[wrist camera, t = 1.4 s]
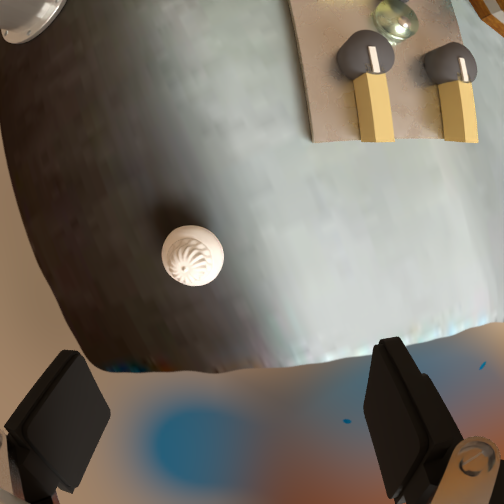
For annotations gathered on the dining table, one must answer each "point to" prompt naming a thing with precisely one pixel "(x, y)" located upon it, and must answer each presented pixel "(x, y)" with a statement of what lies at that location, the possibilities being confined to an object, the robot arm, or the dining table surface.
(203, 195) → the dining table surface
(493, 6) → the mug
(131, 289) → the dining table surface
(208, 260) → the white carved ornament
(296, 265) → the dining table surface
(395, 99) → the base plate
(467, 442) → the robot arm
